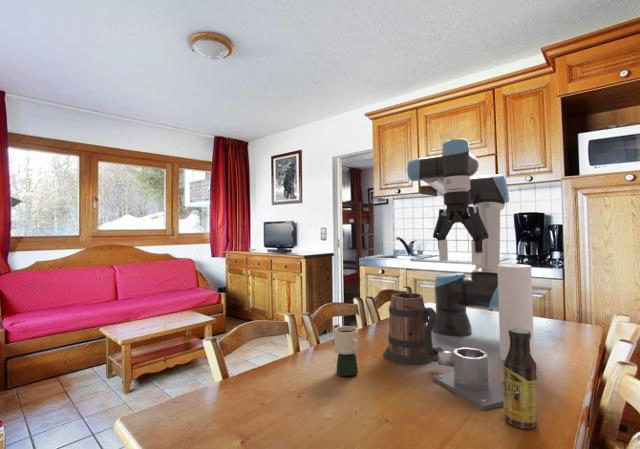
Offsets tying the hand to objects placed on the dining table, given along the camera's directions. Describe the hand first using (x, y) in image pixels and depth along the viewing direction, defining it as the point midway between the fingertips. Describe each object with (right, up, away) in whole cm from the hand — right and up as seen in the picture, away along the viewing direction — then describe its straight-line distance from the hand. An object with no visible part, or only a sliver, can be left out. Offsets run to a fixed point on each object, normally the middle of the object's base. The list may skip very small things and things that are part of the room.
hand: (459, 262), depth 104 cm
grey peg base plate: (-1, -31, -14) cm, 34 cm away
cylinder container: (+21, -31, +6) cm, 38 cm away
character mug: (-34, -33, -3) cm, 47 cm away
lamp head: (-4, -30, -12) cm, 33 cm away
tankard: (-11, -32, +8) cm, 35 cm away
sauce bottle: (+1, -31, -30) cm, 43 cm away
